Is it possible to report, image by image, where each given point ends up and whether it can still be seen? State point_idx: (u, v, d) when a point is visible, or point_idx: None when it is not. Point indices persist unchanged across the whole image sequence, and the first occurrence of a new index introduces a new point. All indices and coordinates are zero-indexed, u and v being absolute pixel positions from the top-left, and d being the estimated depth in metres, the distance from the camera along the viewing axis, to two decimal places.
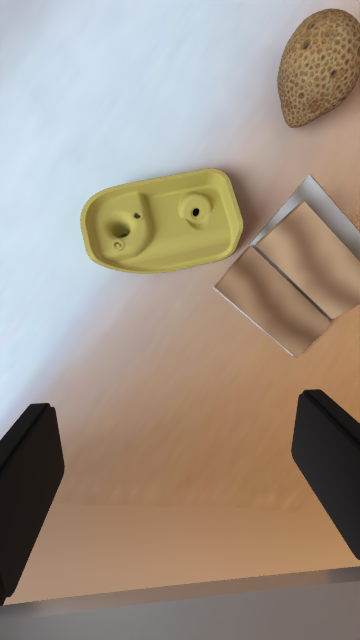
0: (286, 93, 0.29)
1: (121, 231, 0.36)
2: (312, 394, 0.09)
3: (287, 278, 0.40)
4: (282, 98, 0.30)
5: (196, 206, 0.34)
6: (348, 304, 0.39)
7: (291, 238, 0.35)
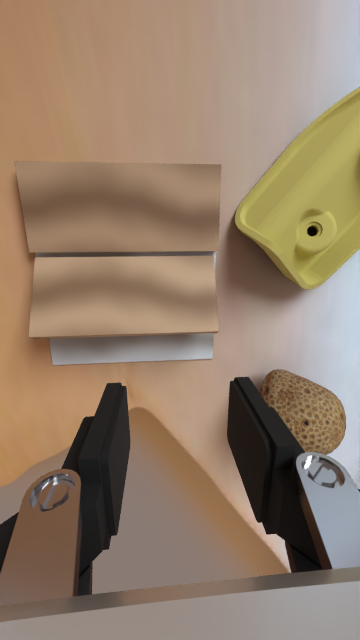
0: (311, 382, 0.27)
1: None
2: (238, 381, 0.10)
3: None
4: None
5: (318, 236, 0.26)
6: (42, 287, 0.25)
7: (189, 292, 0.25)
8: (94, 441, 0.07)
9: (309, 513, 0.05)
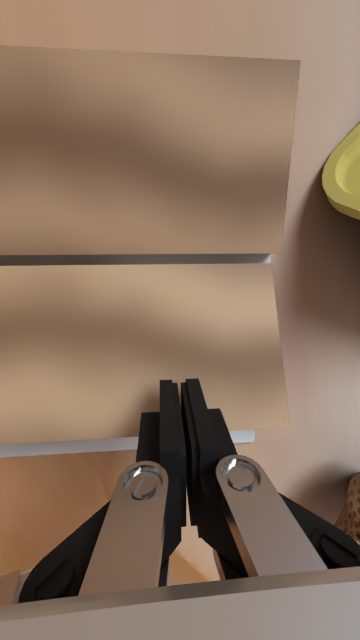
0: None
1: None
2: (187, 382, 0.10)
3: (121, 263, 0.14)
4: None
5: None
6: None
7: (225, 342, 0.12)
8: (169, 434, 0.07)
9: (234, 528, 0.05)
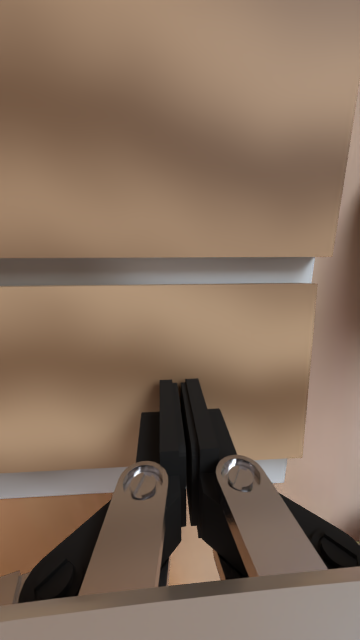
0: None
1: None
2: (187, 382, 0.10)
3: (127, 269, 0.11)
4: None
5: None
6: None
7: (248, 378, 0.11)
8: (169, 434, 0.07)
9: (235, 528, 0.05)
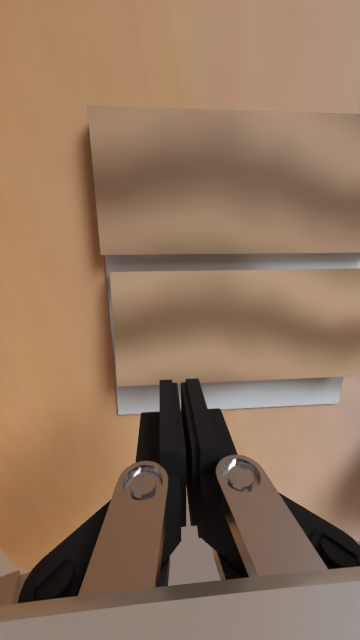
0: None
1: None
2: (187, 382, 0.10)
3: (255, 260, 0.18)
4: None
5: None
6: (126, 319, 0.17)
7: (328, 325, 0.18)
8: (169, 434, 0.07)
9: (235, 528, 0.05)
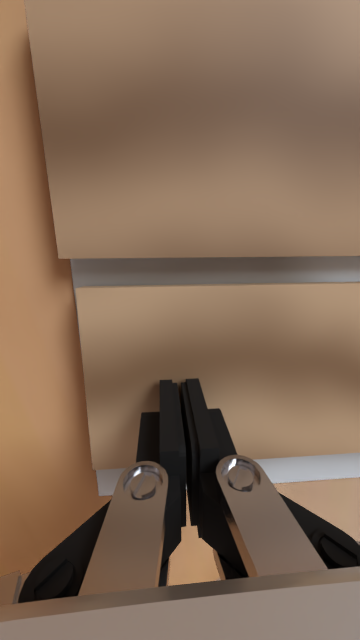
0: None
1: None
2: (187, 382, 0.10)
3: (315, 267, 0.11)
4: None
5: None
6: (106, 366, 0.10)
7: None
8: (168, 434, 0.07)
9: (234, 528, 0.05)
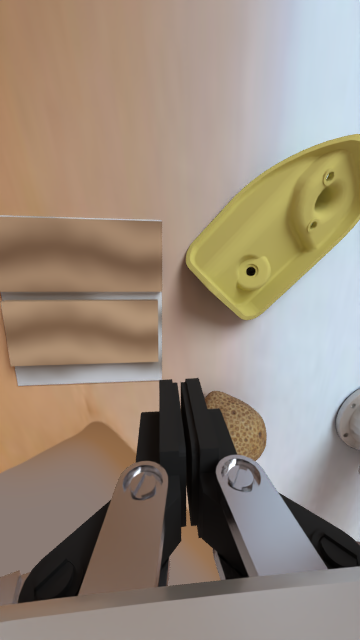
0: (240, 404, 0.32)
1: None
2: (187, 382, 0.10)
3: (93, 294, 0.31)
4: (237, 399, 0.33)
5: (255, 276, 0.30)
6: (13, 328, 0.30)
7: (136, 332, 0.32)
8: (169, 434, 0.07)
9: (235, 528, 0.05)
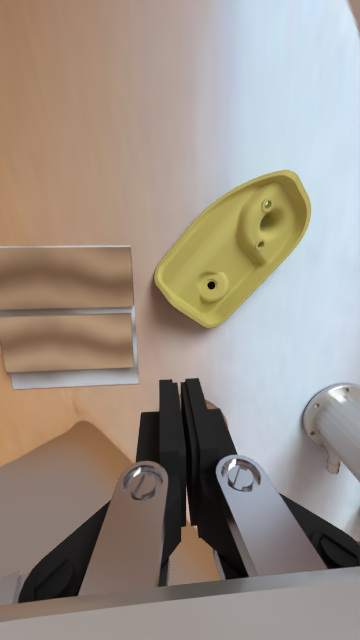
0: None
1: (261, 221, 0.34)
2: (187, 382, 0.10)
3: (75, 309, 0.36)
4: None
5: (215, 289, 0.35)
6: (7, 340, 0.35)
7: (112, 342, 0.36)
8: (169, 434, 0.07)
9: (235, 528, 0.05)
